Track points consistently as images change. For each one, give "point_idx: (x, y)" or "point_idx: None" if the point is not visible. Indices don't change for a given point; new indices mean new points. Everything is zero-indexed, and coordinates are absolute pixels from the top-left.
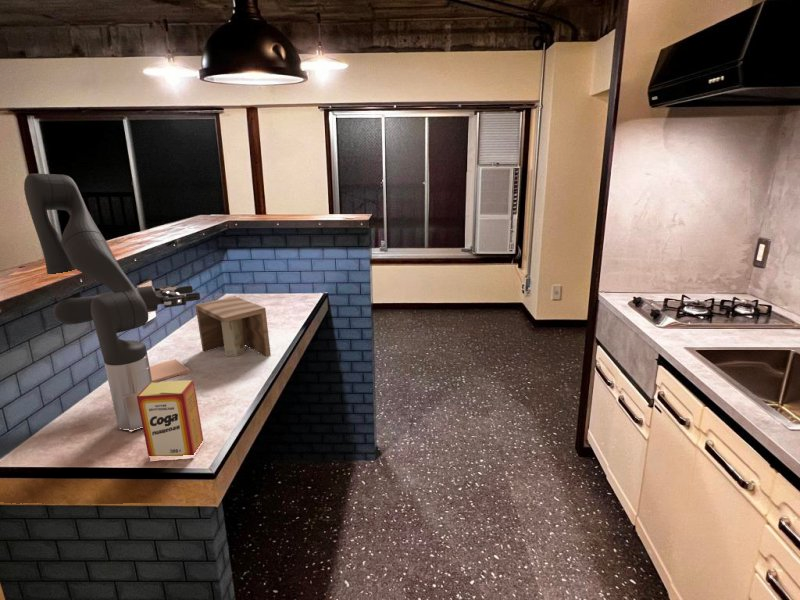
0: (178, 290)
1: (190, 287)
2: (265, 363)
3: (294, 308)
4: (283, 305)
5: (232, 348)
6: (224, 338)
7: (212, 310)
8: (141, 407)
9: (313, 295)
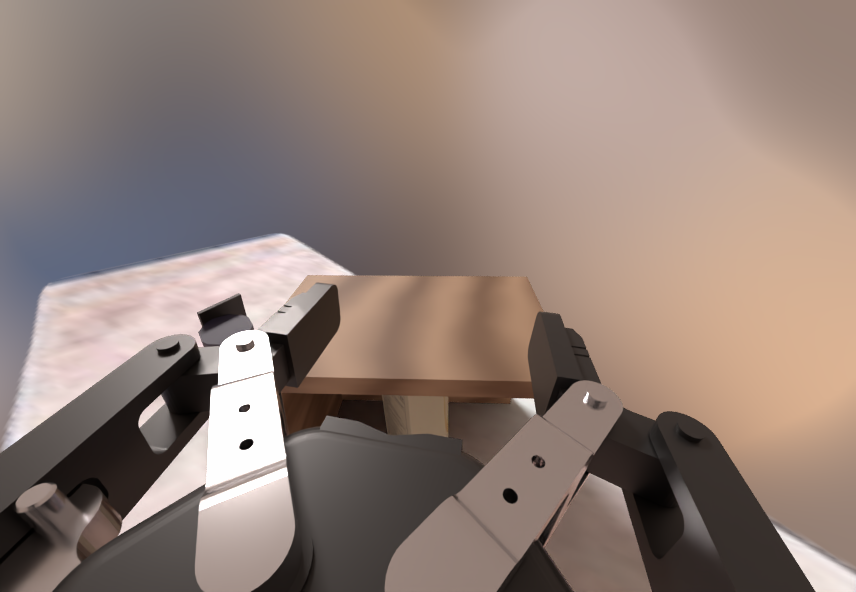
0: (279, 366)
1: (332, 297)
2: None
3: (291, 269)
4: (254, 271)
5: None
6: (415, 432)
7: (404, 366)
8: None
9: (275, 240)
